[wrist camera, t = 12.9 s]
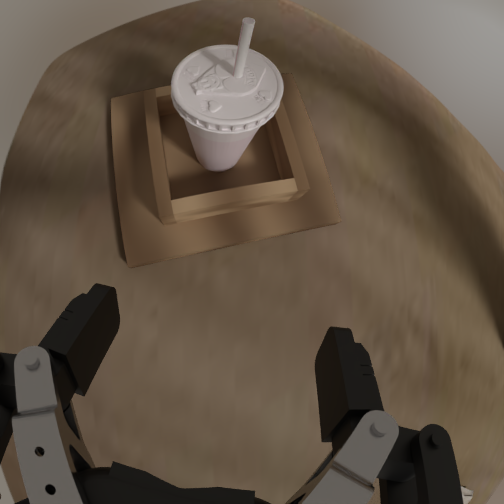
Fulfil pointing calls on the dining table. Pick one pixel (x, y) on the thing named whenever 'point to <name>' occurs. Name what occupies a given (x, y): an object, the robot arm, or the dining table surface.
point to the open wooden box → (213, 180)
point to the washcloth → (466, 495)
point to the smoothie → (225, 98)
